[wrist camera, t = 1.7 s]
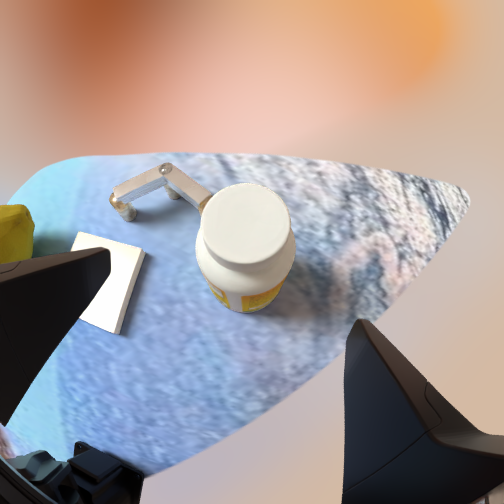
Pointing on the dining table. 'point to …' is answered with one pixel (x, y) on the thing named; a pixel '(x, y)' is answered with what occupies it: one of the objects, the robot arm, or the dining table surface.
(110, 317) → the cream coaster
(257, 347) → the dining table surface
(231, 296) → the supplement bottle
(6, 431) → the dining table surface
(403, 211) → the dining table surface
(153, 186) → the bent steel bracket
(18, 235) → the lemon
